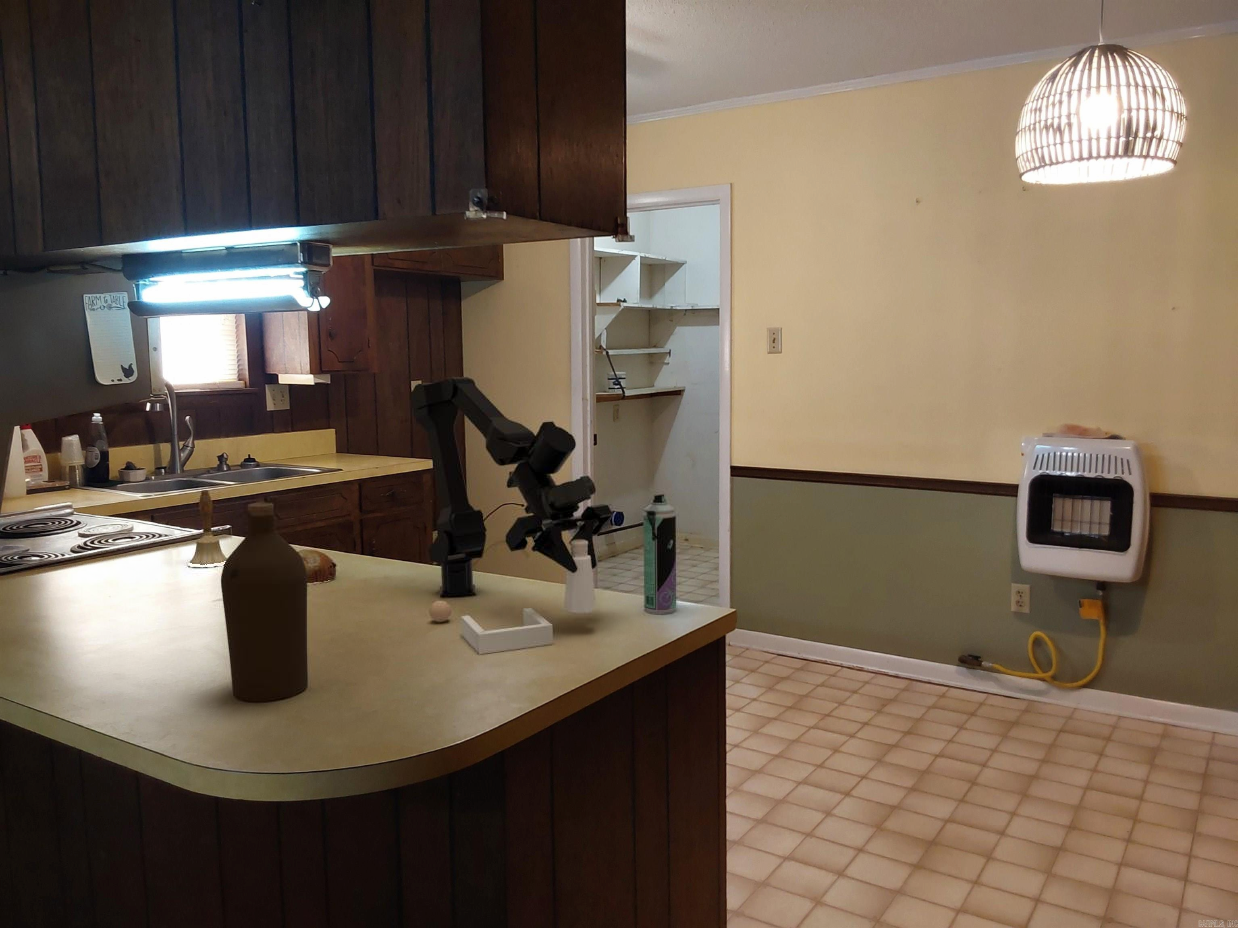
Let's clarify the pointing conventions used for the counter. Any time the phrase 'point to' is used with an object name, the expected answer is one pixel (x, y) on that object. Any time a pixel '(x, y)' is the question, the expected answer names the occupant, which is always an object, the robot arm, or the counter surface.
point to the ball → (440, 611)
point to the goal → (508, 634)
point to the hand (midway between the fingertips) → (585, 569)
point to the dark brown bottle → (265, 612)
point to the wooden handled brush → (207, 536)
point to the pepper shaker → (580, 581)
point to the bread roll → (318, 566)
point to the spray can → (659, 557)
